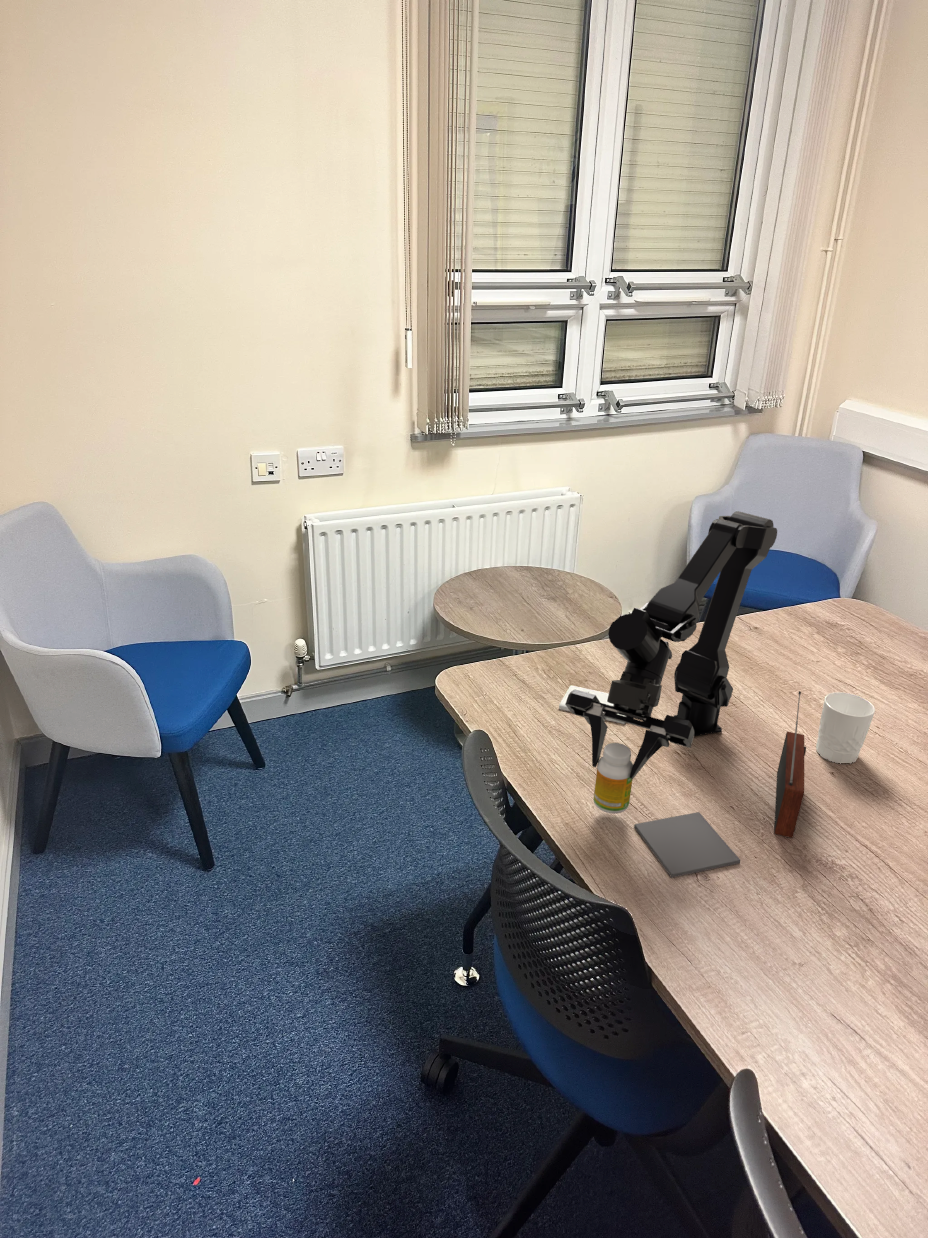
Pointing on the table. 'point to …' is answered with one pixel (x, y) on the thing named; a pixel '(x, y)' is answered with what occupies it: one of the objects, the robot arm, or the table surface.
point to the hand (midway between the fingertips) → (612, 772)
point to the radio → (790, 783)
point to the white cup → (843, 726)
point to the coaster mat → (686, 844)
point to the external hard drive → (600, 695)
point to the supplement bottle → (613, 779)
